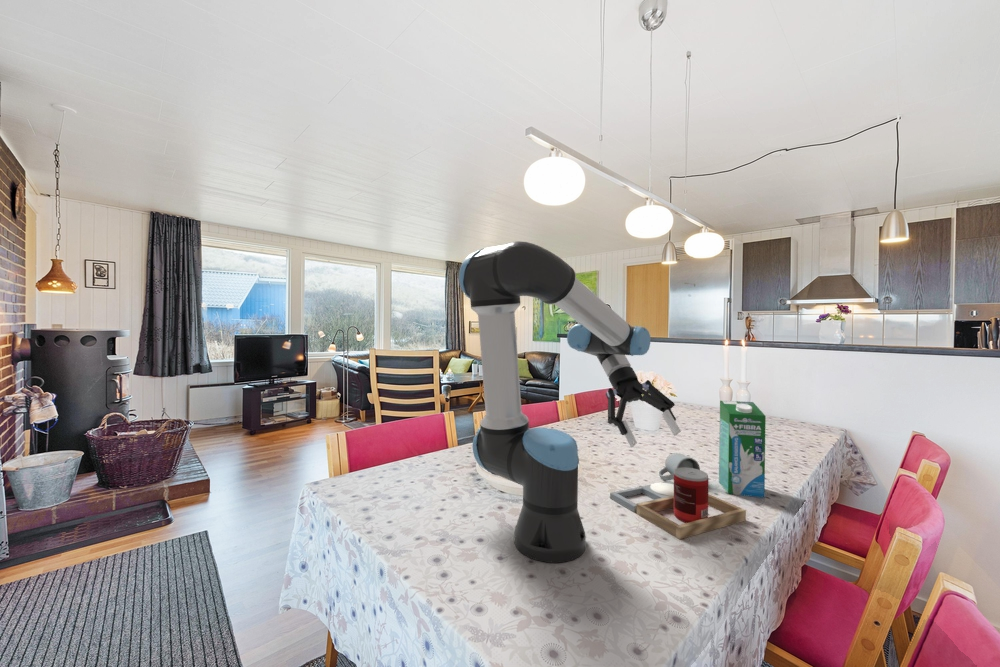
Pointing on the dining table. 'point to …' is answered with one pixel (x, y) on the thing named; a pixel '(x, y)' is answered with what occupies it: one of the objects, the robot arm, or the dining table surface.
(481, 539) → the dining table surface
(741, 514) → the oak pen
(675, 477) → the canned food
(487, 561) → the dining table surface
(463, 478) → the dining table surface
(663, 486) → the grey rectangular frame
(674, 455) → the ceramic mug
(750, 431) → the milk carton
